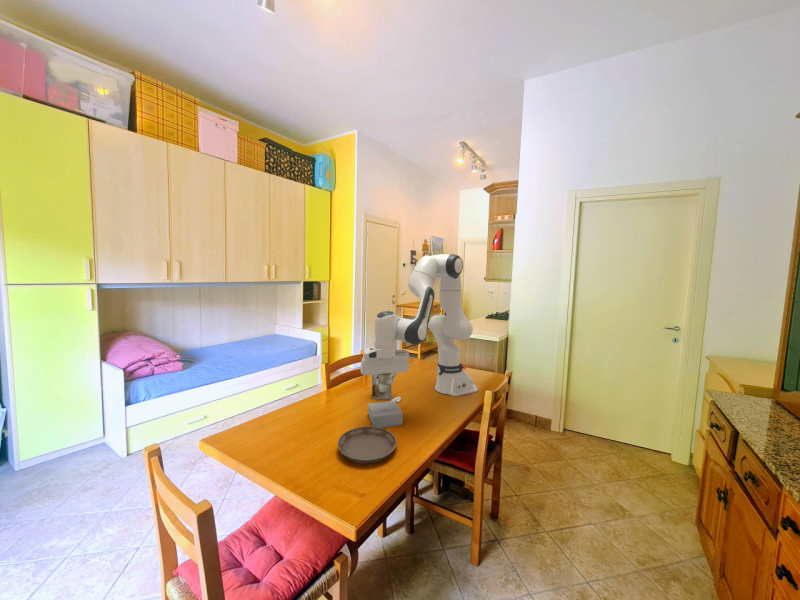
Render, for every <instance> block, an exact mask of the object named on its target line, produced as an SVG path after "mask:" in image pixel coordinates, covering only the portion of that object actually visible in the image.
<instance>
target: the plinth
mask: <svg viewBox="0 0 800 600" xmlns="http://www.w3.org/2000/svg"><path fill="white" fill-rule="evenodd" d="M396 402H397V401H396V400H395V401H391V400H390V401H382V402H373V403H368V404H367V405H368V407H367V409H368V411H367V413H368V414H367V415H368V418H369V420H370V423H371V426H372V427H378V428H382V429H384V428H389V427H395V426H403V421H404V420H403V414H404V413H403V412H402V410H401V407H399V405H398V404H397V403H398V402H397V403H396Z"/></svg>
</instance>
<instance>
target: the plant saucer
mask: <svg viewBox="0 0 800 600" xmlns="http://www.w3.org/2000/svg"><path fill="white" fill-rule="evenodd" d="M396 446H397V439H396V436H395V435H394V434H393V433H392V432H391V431H390V430H387V429H384V428H378V427H373V426H360V427H355V428H353V429H350V430H348V431H345V433H343V434H342V435H341V436H339V438H338V441H337V448H338V450H339V451H340V453H341V454H342V455H343V456H344V457H345V458H346V459H348V460H350V461H351V462H354V463H357V464H373V463H379V462H380V461H383V460H384V459H386V458H388V457H389V456H390V455H391V454H392V453H393V451H394V450H395V448H396Z"/></svg>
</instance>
